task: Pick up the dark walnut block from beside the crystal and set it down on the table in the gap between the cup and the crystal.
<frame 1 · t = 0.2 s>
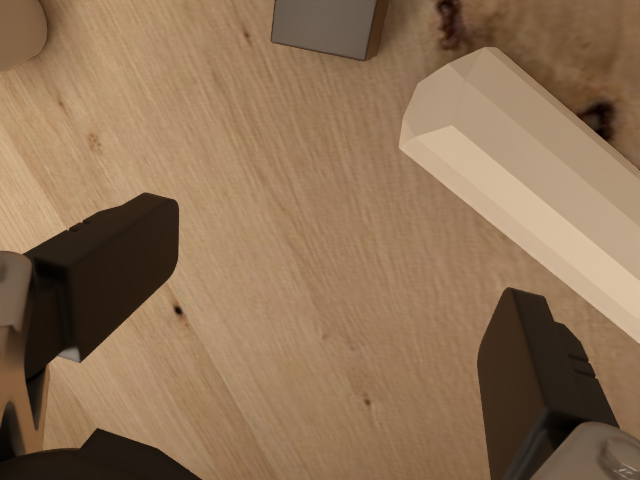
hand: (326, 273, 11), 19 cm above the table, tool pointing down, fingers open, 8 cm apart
crystal: (568, 201, 27), on the table
walnut block: (344, 1, 25), on the table
cup: (17, 18, 31), on the table
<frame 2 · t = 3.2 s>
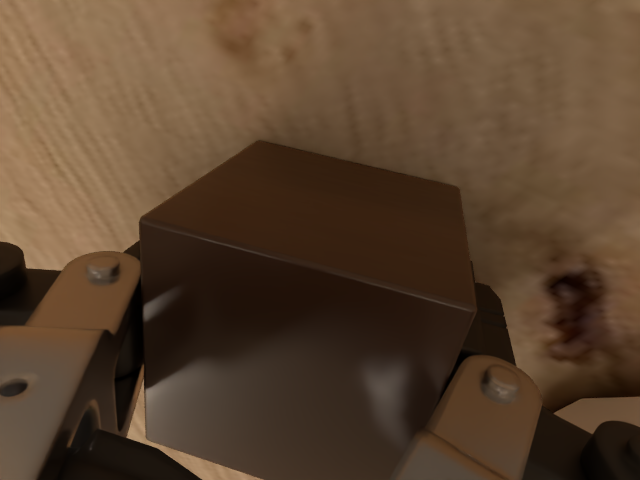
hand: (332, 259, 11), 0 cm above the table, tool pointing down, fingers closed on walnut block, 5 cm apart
walnut block: (336, 252, 12), on the table, touching gripper
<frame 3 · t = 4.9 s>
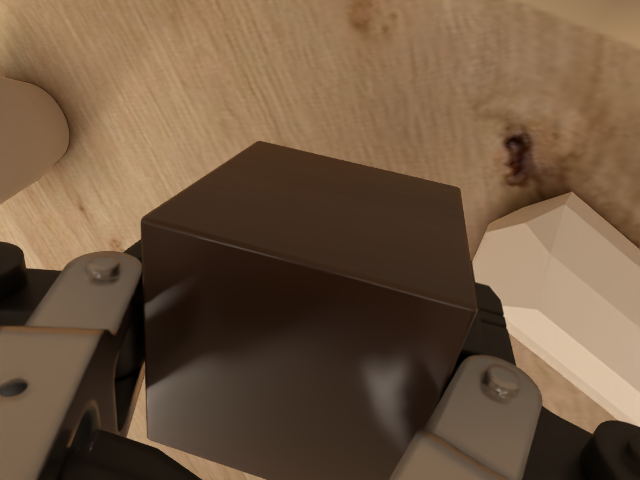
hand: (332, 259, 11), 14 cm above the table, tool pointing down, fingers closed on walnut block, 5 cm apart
crystal: (638, 340, 25), on the table
walnut block: (337, 252, 12), point 13 cm above the table, touching gripper
cup: (37, 123, 28), on the table
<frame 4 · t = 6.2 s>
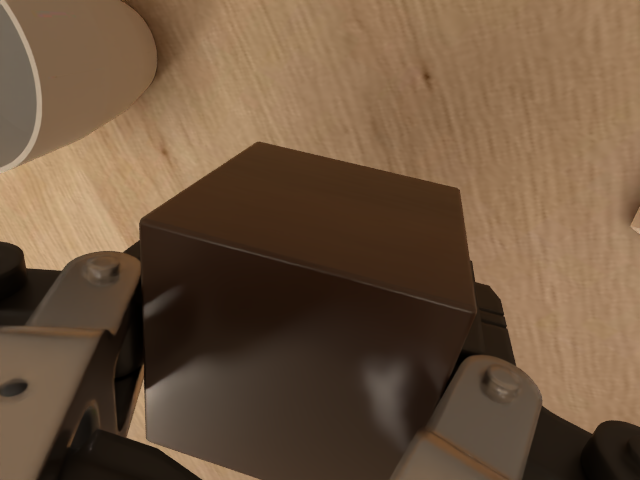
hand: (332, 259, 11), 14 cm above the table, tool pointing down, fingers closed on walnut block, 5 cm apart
walnut block: (336, 252, 12), point 13 cm above the table, touching gripper
cup: (118, 50, 25), on the table
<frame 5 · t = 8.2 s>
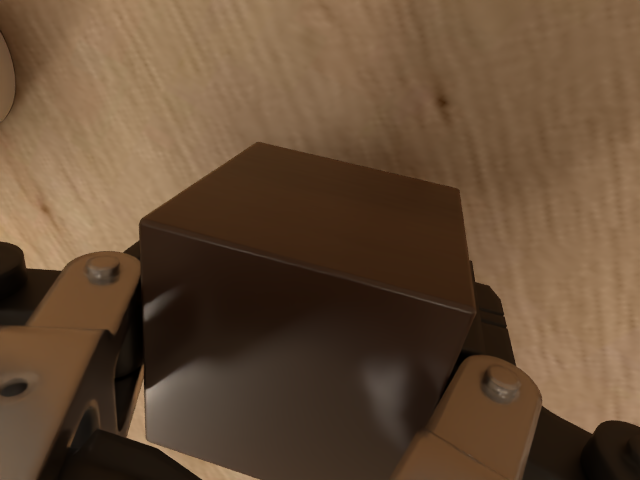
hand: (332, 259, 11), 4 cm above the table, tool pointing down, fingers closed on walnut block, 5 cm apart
walnut block: (336, 253, 12), point 3 cm above the table, touching gripper
when the fingers open (0 cm above the table, at t = 9.6 s): walnut block stays where it is, on the table.
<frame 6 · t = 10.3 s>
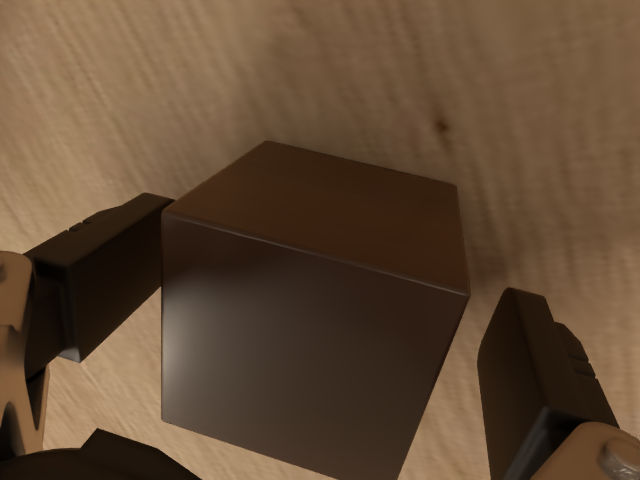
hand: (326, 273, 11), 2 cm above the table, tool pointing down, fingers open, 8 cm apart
walnut block: (339, 247, 12), on the table
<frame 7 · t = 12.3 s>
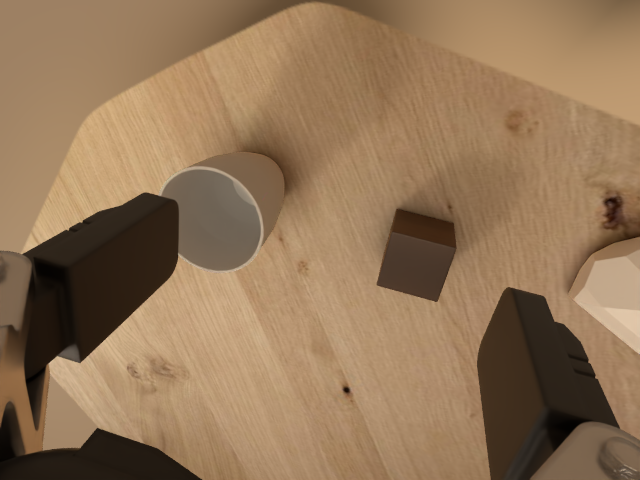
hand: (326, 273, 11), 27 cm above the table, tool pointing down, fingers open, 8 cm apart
walnut block: (417, 241, 39), on the table
cup: (259, 180, 40), on the table
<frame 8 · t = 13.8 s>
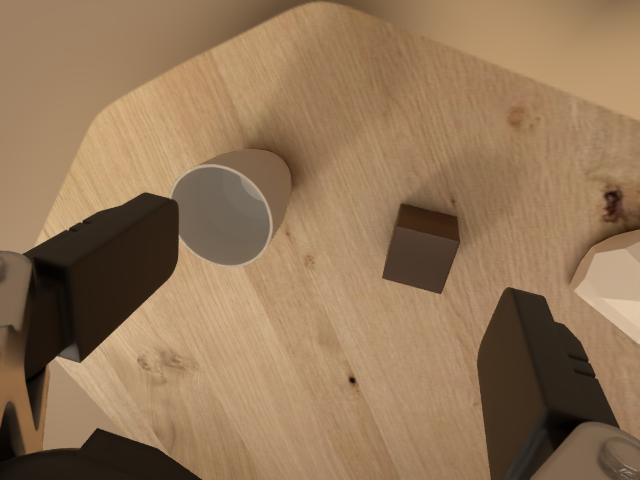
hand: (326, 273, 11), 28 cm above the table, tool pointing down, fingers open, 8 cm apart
walnut block: (421, 235, 40), on the table
cup: (266, 176, 41), on the table
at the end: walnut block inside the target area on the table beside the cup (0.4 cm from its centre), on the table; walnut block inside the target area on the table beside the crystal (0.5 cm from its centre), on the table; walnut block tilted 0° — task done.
